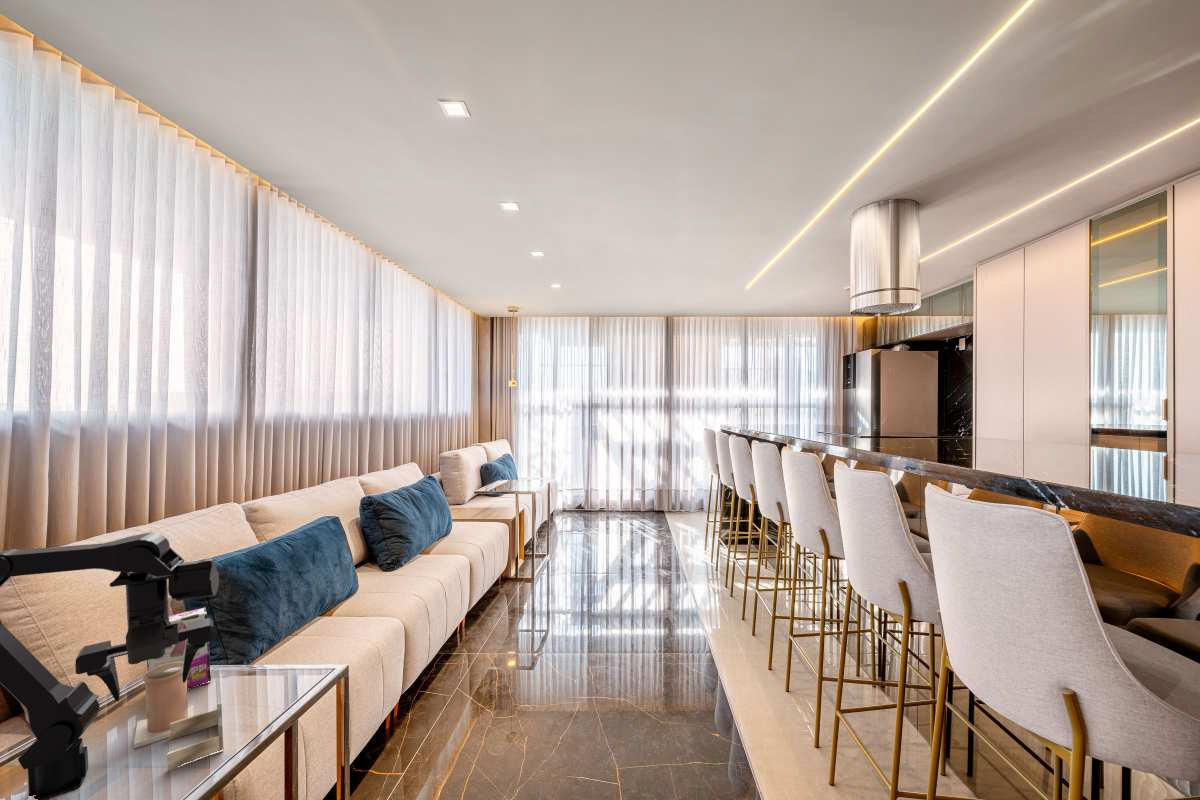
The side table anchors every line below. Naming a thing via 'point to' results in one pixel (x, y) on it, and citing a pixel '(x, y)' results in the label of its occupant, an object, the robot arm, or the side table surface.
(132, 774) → the side table surface
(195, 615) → the candy bar box
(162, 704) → the terracotta pot
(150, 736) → the ceramic tile
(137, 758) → the side table surface
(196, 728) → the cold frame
